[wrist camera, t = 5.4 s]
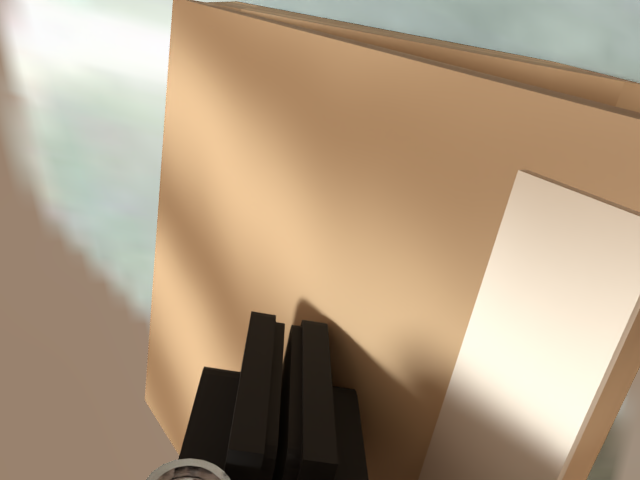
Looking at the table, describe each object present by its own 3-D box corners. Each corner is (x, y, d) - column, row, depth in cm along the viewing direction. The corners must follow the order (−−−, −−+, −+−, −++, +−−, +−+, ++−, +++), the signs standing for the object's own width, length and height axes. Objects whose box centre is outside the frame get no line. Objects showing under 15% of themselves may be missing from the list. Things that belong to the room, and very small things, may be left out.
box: (236, 1, 24) (206, 2, 16) (551, 61, 25) (654, 87, 18) (204, 292, 29) (170, 390, 22) (465, 329, 30) (517, 434, 23)
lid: (206, 2, 16) (166, -4, 16) (747, 140, 7) (710, 139, 6) (170, 392, 22) (139, 401, 21) (439, 787, 12) (400, 829, 11)
